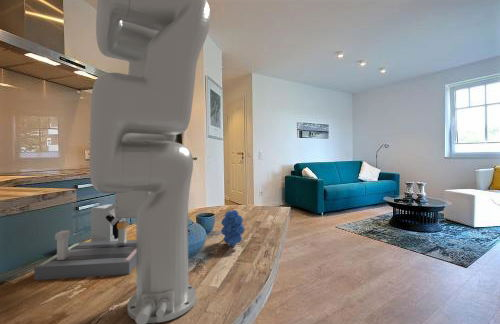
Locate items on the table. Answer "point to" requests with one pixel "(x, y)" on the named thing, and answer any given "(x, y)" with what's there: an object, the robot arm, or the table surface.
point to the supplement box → (101, 225)
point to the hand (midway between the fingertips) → (135, 236)
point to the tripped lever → (121, 233)
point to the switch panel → (87, 259)
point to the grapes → (232, 227)
